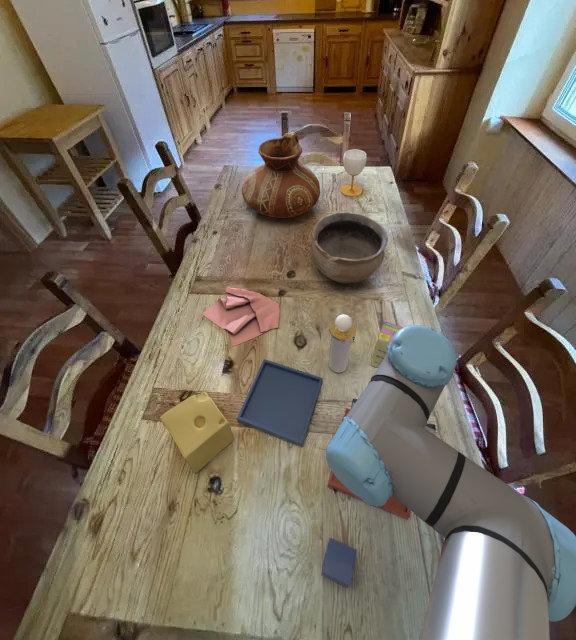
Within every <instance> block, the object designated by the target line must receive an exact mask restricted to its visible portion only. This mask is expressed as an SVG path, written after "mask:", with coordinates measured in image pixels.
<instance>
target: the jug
mask: <svg viewBox="0 0 576 640" xmlns="http://www.w3.org/2000/svg"><path fill="white" fill-rule="evenodd" d="M257 152H258V154H259V157H260V158H261V159H262V161H263V163H262V164H260V165H258V166H256V167H255V168H254V169H253V170H252V171H250V172H249V173H248V175H247V176H246V177H245V178H244V181H243V184H242V186H241V187H242V188H241V195H242V199H243V202H244V204H246V205H247V207H249V208H250V209H251V210H252V211H254V212H256V213H258V214H261V215H262V216H265V217H271V218H279V219H287V218H288V219H289V218H294V217H295V218H296V217H299V216H301V215H303V214H305V213H307V212H309V211H311V209H312V208H313V207H315V206H316V205H317V203H318V201H319V198H320V196H321V187H320V181H319V179H318V177H317V176H316V175H315V173H314V172H313V171H312V169H311V168H309V167H308V166H307V165H305V164H304V163H302V162H301V161H299V160H300V159H299V158H300V157H301V156H302V153H303V147H302V146H301V144H300V142H299V137H298V135H297V134H296V133H293V132H285V133H284V135H282V136H281V137H276V138H270V139H267V140H264V142H262V143H261V144H260V145H259V147H258V151H257Z"/></svg>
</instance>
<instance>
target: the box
mask: <svg viewBox="0 0 576 640" xmlns="http://www.w3.org/2000/svg"><path fill="white" fill-rule="evenodd" d="M402 328H404V327H403V326H401V325H397V324H394V323H392V322H388V321H385V320H384V321H383V323H382V326H381V328H380V332H379V334H378V338H377V341H376V344H375V348H374V350H373V351H374V352H373V355H372V359H371V361H370V362H371V363H370V366H372V367H375V368H376V369H378V367H379V366H380V364H381V363H382V361H383V360H384V358H385V356H386V354H387V351H388V349H387V348H388V345H389V344H390V343H391V341H392V339H393V337H394V335H395V334H396V333H397V332H398V331H399V330H400V329H402Z"/></svg>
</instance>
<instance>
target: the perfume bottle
mask: <svg viewBox="0 0 576 640" xmlns="http://www.w3.org/2000/svg"><path fill="white" fill-rule="evenodd" d="M329 333H330V336H331V338H330V348H329V357H328V366H329V368H330V369H331V370H332V371H333V372H335V373H342V372H345V371H346V370H347V368H348V364H349V357H350V352H351V347H352V343H353V342H355V339H356V337H355V336H356V335H357V326H356V324H355V323H354V321H353V320H352V318H351V317H350V315H348V314H346V313H345V314H343V313H341V314H339V315H338V316H337V317H336V318H334V319H332V321H331V322H330V324H329Z"/></svg>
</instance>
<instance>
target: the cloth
mask: <svg viewBox="0 0 576 640" xmlns="http://www.w3.org/2000/svg"><path fill="white" fill-rule="evenodd" d="M225 293H227V296H226V298H227V299H225V298H218V299H217V301H215V302H214V303H213V304H212V305H211V306H210V307H208V308H207V309H206V310H205V311H204V312H202V313H201V315H202V316H203V317H205V318H207V320H209V321H211V322H212V323H213V324H215V325H216V326H217V327H219V328H221V329H222V330H227V334H228V338H229V340H230V343H231V346H232V347H235V346H238V345H241V344H243V343H246V342H248V341H251V340H252V339H255V338H257V337H260V336H262V335H264V334H266V333H267V332H268V331H269V330H274V329H279V326H280V317H281V307H280V303H279V302H278V301H277V300H272V299H271V298H269V297H267V296H265V295H263V294H261V293H260V292H256V291H254V290H248V289H245V288H239V287H226V288H225Z"/></svg>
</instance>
